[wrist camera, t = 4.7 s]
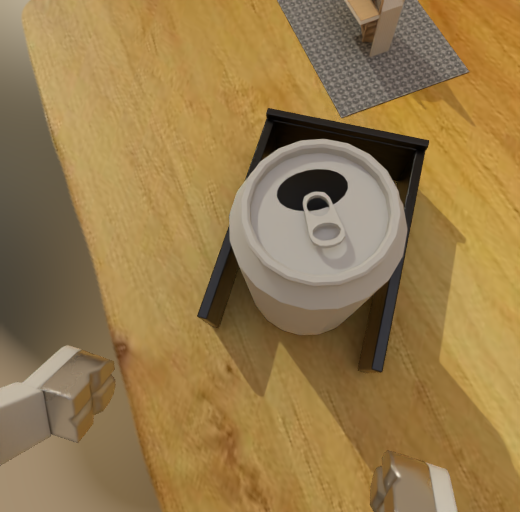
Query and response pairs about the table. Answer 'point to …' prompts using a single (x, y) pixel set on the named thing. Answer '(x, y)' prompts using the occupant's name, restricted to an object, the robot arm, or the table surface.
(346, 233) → the can
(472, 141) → the table surface
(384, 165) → the frame
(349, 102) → the architectural model
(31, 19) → the table surface
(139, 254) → the table surface
